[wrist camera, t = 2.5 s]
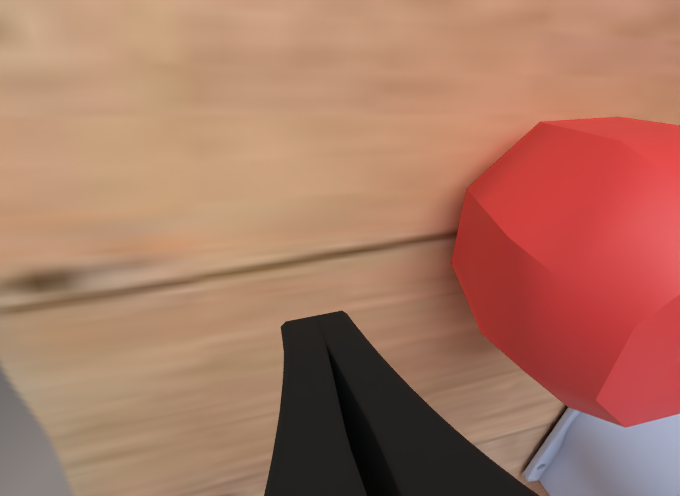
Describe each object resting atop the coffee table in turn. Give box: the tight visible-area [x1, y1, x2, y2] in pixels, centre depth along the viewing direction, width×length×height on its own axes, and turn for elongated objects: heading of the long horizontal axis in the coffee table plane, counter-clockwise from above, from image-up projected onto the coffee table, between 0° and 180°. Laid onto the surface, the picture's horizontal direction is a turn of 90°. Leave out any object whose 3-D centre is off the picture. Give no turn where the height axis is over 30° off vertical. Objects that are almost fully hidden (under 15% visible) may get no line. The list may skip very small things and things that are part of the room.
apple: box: [451, 117, 680, 428], centre depth 12 cm, size 8×8×8 cm
